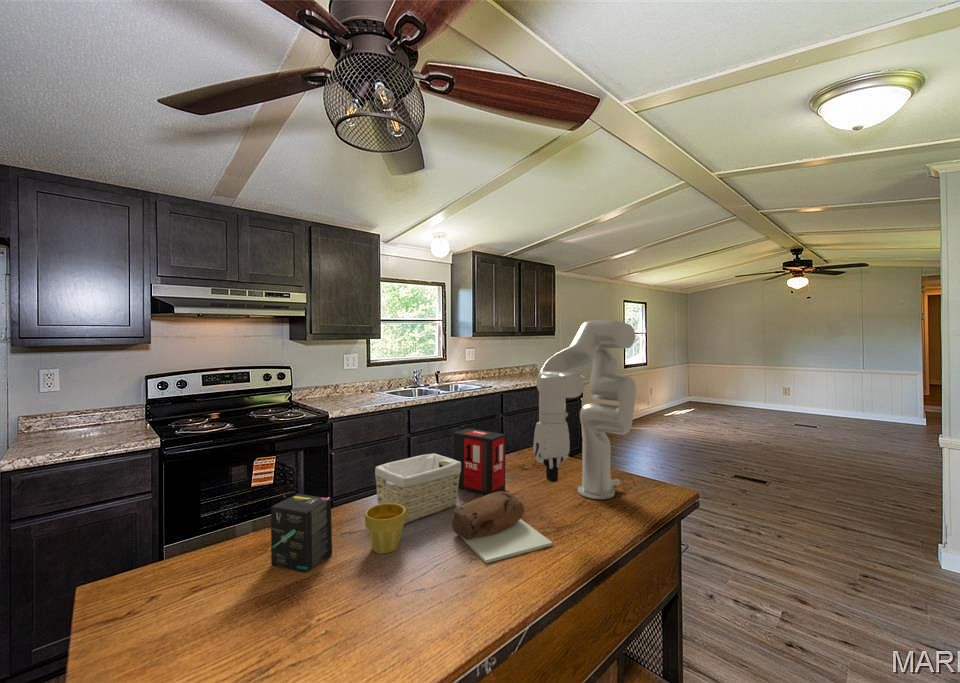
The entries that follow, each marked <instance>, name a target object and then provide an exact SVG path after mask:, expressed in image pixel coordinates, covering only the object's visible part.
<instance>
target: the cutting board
mask: <svg viewBox="0 0 960 683" xmlns="http://www.w3.org/2000/svg"><path fill="white" fill-rule="evenodd" d="M458 536H459V537H460V538H461V539H462V540H463V541H464V542H465V543H466V544H467V545H468V547H470V549H471V550H472V551H473V552H474V553H475V554H476V555H477V556H478V557H479V558H480V559H481V561H483V562H484V564H489V563H492V562H496V561H500V560H504V559H507V558H510V557H511V558H512V557H514V556H518V555H521V554H526V553H529V552H532V551H533V552H534V551H536V550H541V549H544V548H548V547H552V546H553V541H551V540H550V539H549V538H547V537H546V536H544V534H542V533H541V532H539V531H537V530H536V529H535V528H533V527H532V526H531V525H530V524H528V523H527V522H525V521H524V520H523V519H522V518H520V520H519V521H518V522H517V523H515V524H513V525H511V526H509V527H507V528H505V529H503V530H501V531H499V532H496V533H494V534H490V535H486V536H481V537H479V536H478V537H475V538H472V539H465V538H463V537H461V536H460V535H458Z"/></svg>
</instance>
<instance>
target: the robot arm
mask: <svg viewBox="0 0 960 683" xmlns="http://www.w3.org/2000/svg"><path fill="white" fill-rule="evenodd" d="M635 340H636V331H635V329H634V328H633V326H632V325H631V324H630V323H626V322H623V321H620V320H615V319H596V320H595V319H593V320H592V319H591V320H587V321H584V322H583V323H581V325H580V327H579V328H578V331H576V334H575V335H574V338H573V340H572V341H571V343H570V345H569V346H568V347H566V348H564V349H562V350H560V351H559V352H556V353H555V354H554V355H552V356H551V357H549V358H548V359H547V360H546V361H545V363H544V364H543V366H542V367H541V368H540V371H539V373H538V374H537V379H536V389H537V390H538V392H539V393H538V421H537V422H536V424H535V428H534V433H533V434H534V435H533V443H532V444H533V445H532V447H533V448H532V450H533V451H532V453H533V455H534V456H535V462H536V463H538V464H542V465H544V466H545V468H546V469H545V471H546V472H545V473H546V474H545V475H546V480H547V481H549V482H551V483H558V481H559V468H560V467H561V465H562V462H563V461H564V460H567V459H568V458H569V454H570V443H571V442H570V431H569V426H568V425H569V424H568V422H567V421H566V419H567V418H568V416H569V413H568V412H567V411H566V409H567V408H566V407H567V406H566V404H567V402H566V400H567V399H572V398H573V399H574V398H577V397H580V396H581V395H582V394H583V392H584V390H585V387H586V386H585V380H584V378H583V376H582V375H581V374H579V373H577V372H570V371H569V370H573V369H577V368H581V367H584V366H586V365H588V364H590V363H591V362H592V367H591V374H590V380H589V386H588V387H589V388H588V393H589V396H590V398H592V399H594V400H597V401H603V402H604V401H605V402H613V403H618V405H615V404H607V403H599V402H597V403H596V402H590V403H586V404H584V405H582V407H581V408H580V411H579V419H580V424H581V434H582V454H581V455H582V461H581V462H582V468H581V470H582V471H581V472H582V473H581V474H582V477H581V478H582V479H581V482H582V483H581V485H579V486H577V493H578V494H579V495H581V497H582V496H583V497H585V498H589V499H593V500H607V499H611V498H614V496H615V494H616V493H615V489H614V488H613V487H614V486H619V485H620V484H621V480H620V479H619V478H617V479H612V478H611V449H612V448H611V447H612V446H611V441H610V439H609V437H608V435H607V434H606V433H608V434H609V433H610V434H616V435H627V434H628V433H629V432H631V429H632V425H633V419H634V413H635V412H634V411H635V404H636V396H637V385H636V382H635V380H634V379H633V377H631V376H629V375H623V374H617V369H618V361H617V358H616V356H615V355H614V353H613V352H612V351H611V350H610V349H630V348H631V347H633V346H634V343H635V342H636V341H635ZM567 371H568V372H567Z"/></svg>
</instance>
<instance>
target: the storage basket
mask: <svg viewBox="0 0 960 683" xmlns="http://www.w3.org/2000/svg"><path fill="white" fill-rule="evenodd" d="M440 465H441V466H442V467H440ZM374 468H375V470H374V471H375V472H374V475H375V484H376V485H375V486H376V496H377V497H376V498H377V505H379V504H384V503H395V504H399V505H402V506H403V507H404V508H405V510H406V520H405V524H404V525H406V524H408V523H409V524H410V523H411V522H414V521H417V520H419V519H422V518H424V517H426V516H431V515H435V514H437V513H439V512H442V511H444V510H446V509H450V508H451V507H454V506H456V505H457V503H458V502H457V501H458V498H457V497H458V493H459V489H458V486H459V476H460V473H461V462H460V461H456V460H454V458H450V457H447V456H443V455H440V454H437V453H426V454H421V455H416V456H412V457H408V458H404V459H399V460H396V461H391V462H387V463H383V464H380V465H377V466H375V467H374Z"/></svg>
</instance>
